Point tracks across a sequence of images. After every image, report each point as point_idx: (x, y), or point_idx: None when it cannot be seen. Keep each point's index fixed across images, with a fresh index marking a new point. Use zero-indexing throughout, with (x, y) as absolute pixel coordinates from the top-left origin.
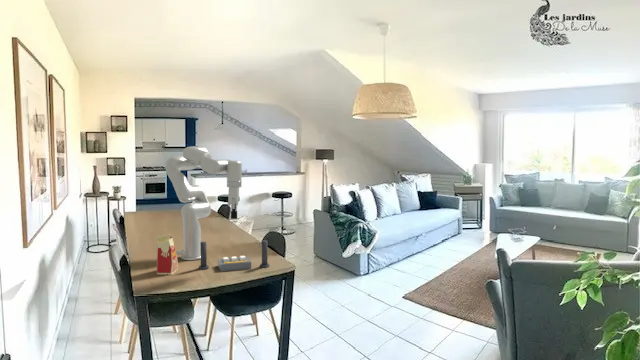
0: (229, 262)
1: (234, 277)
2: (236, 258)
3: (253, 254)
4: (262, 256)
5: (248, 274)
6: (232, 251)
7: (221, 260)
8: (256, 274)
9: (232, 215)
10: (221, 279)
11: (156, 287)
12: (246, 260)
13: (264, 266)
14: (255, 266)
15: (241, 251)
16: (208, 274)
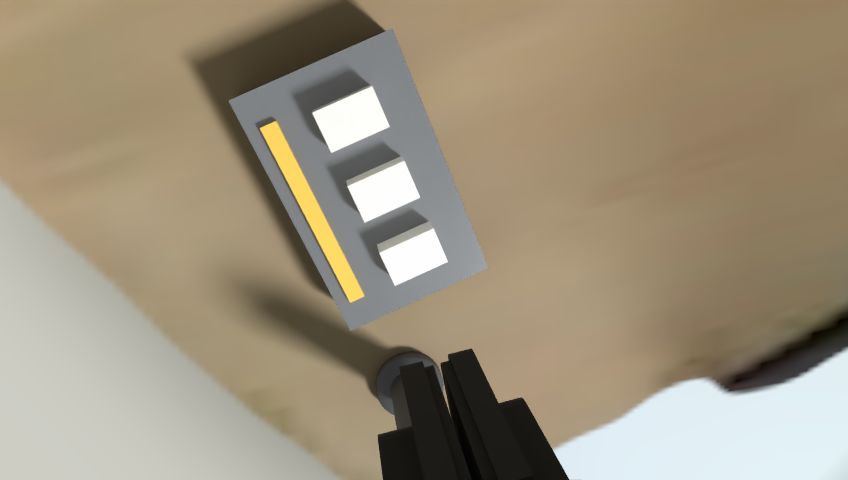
0: (287, 171)
1: (117, 248)
2: (362, 216)
3: (696, 234)
4: (402, 417)
5: (210, 325)
6: (795, 41)
7: (360, 72)
8: (221, 375)
9: (384, 465)
10: (41, 164)
11: None
12: (386, 285)
13: (377, 393)
14: (401, 323)
15: (786, 119)
16: (138, 14)
